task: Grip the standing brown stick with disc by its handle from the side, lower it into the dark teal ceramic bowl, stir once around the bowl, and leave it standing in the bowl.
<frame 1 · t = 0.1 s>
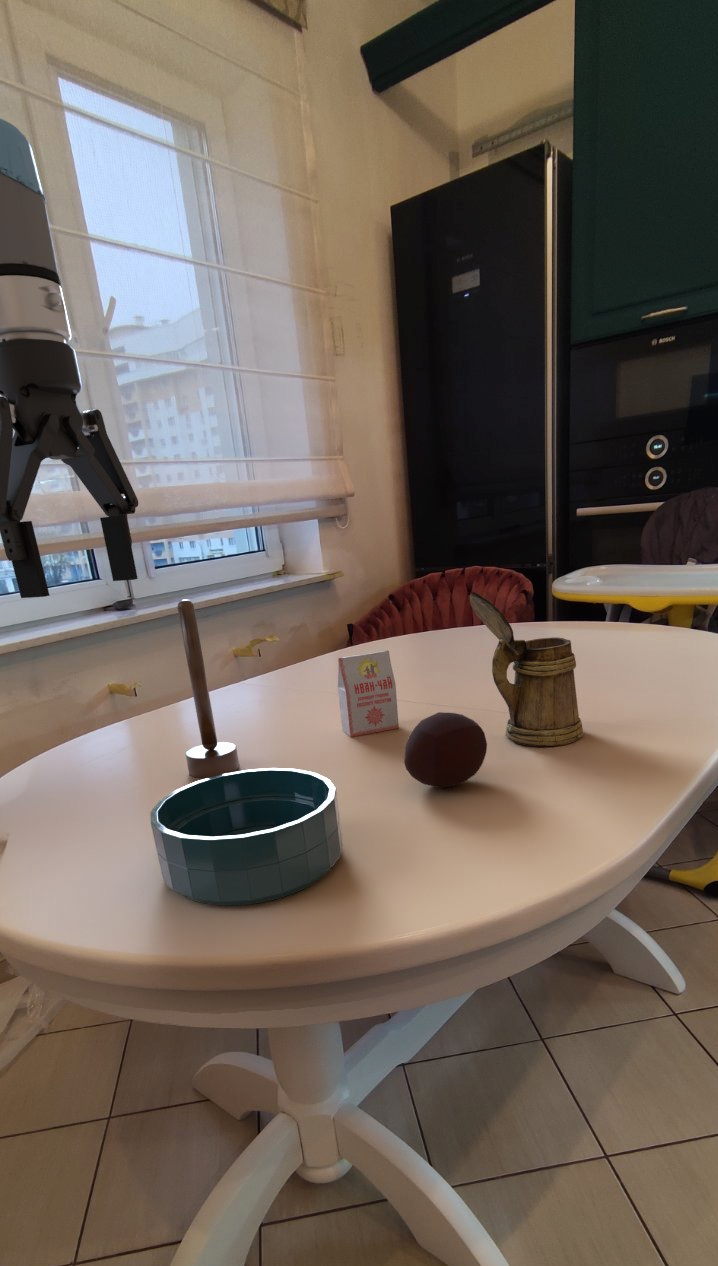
hand: (84, 588, 73), 22 cm above the table, tool pointing down, fingers open, 13 cm apart
wooden mug: (526, 740, 87), on the table
brown stick with disc: (214, 769, 87), on the table
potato: (446, 787, 75), on the table
bowl: (254, 864, 62), on the table
tea bag: (370, 730, 97), on the table
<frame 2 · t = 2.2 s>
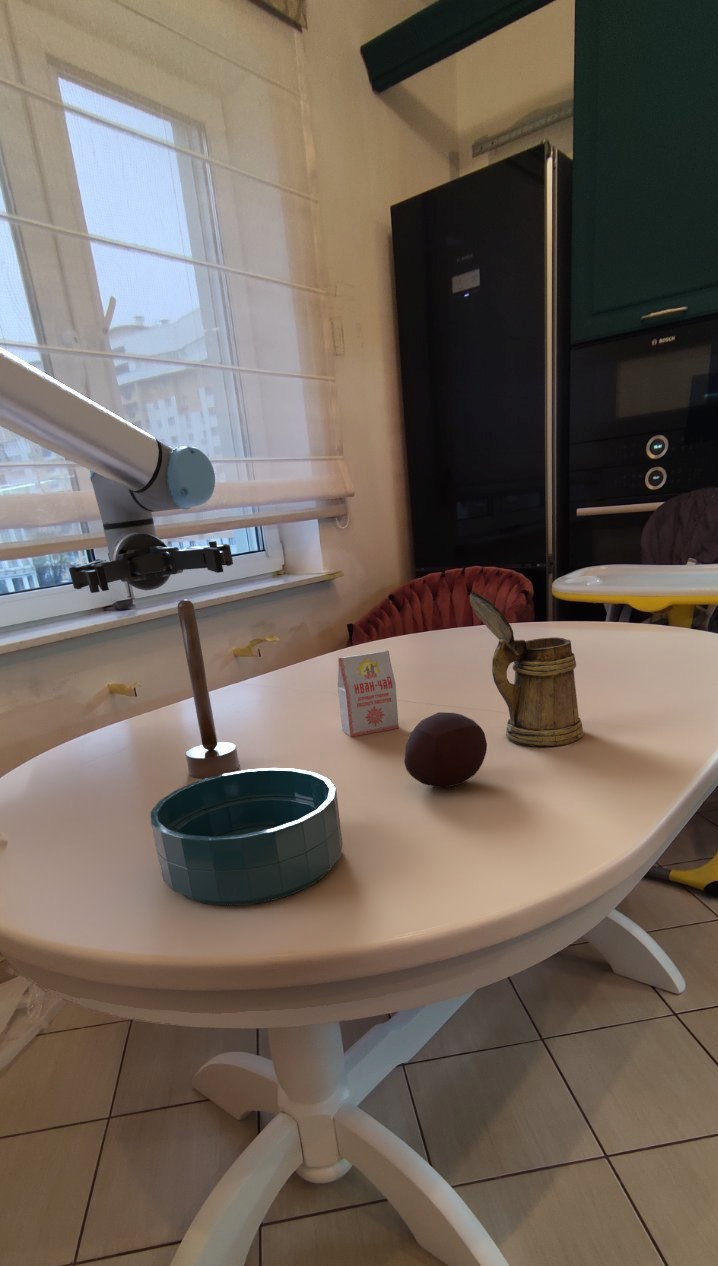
hand: (162, 569, 85), 23 cm above the table, tool horizontal, fingers open, 13 cm apart
nothing on the table moved.
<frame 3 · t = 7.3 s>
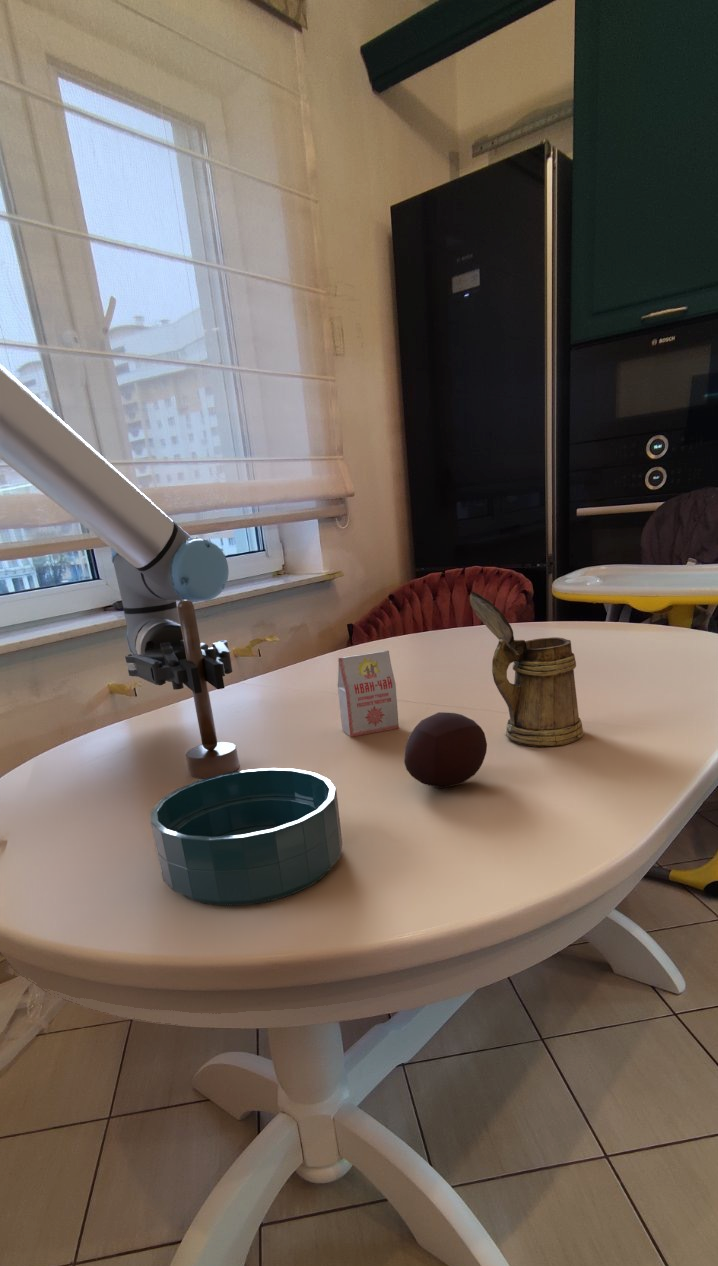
hand: (207, 678, 78), 12 cm above the table, tool horizontal, fingers closed on brown stick with disc, 2 cm apart
brown stick with disc: (214, 769, 87), on the table, touching gripper
everything else where it was.
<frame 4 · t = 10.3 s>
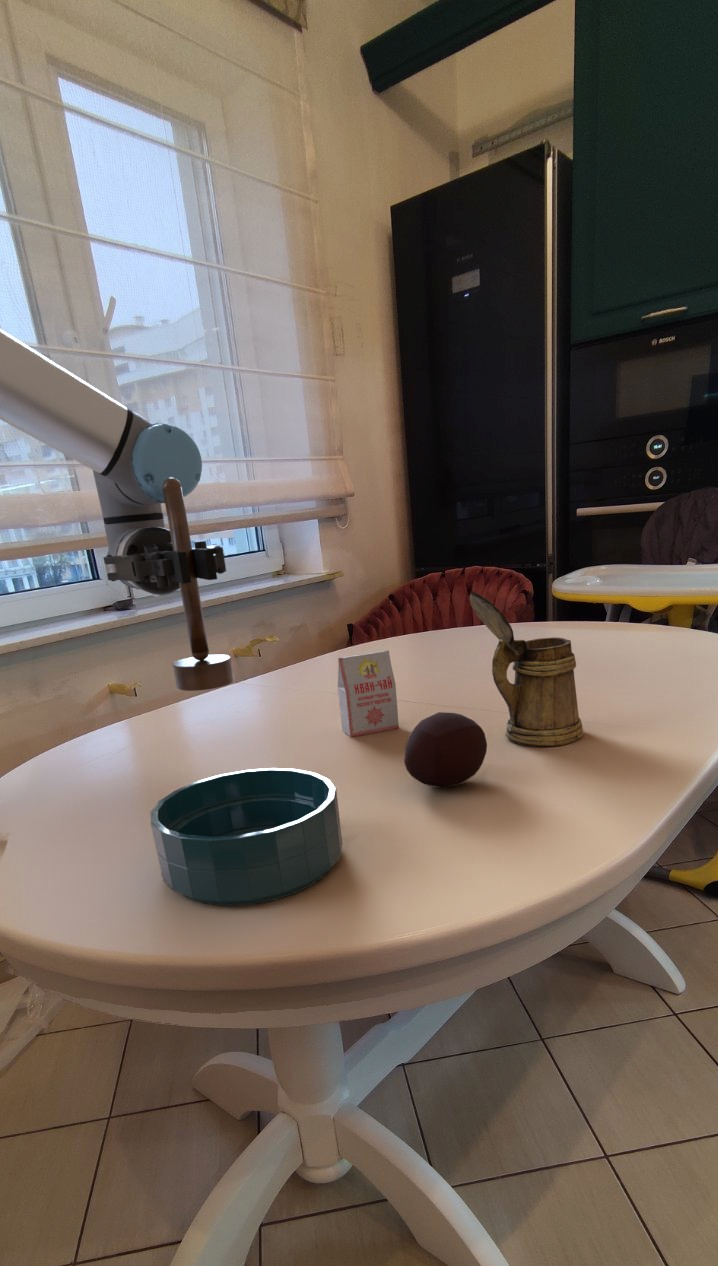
hand: (197, 566, 67), 24 cm above the table, tool horizontal, fingers closed on brown stick with disc, 2 cm apart
brown stick with disc: (205, 684, 76), point 12 cm above the table, touching gripper
everything else where it was.
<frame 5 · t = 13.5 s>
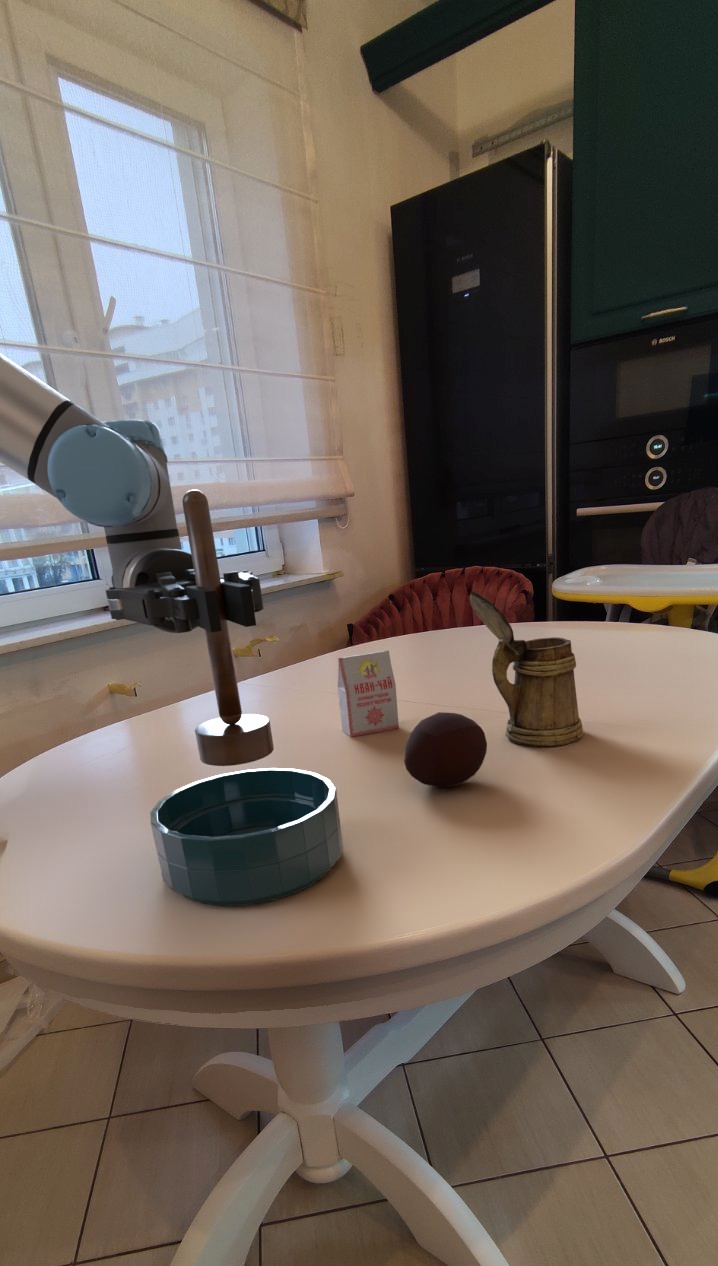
hand: (230, 608, 50), 22 cm above the table, tool horizontal, fingers closed on brown stick with disc, 2 cm apart
brown stick with disc: (237, 753, 59), point 10 cm above the table, touching gripper
everything else where it was.
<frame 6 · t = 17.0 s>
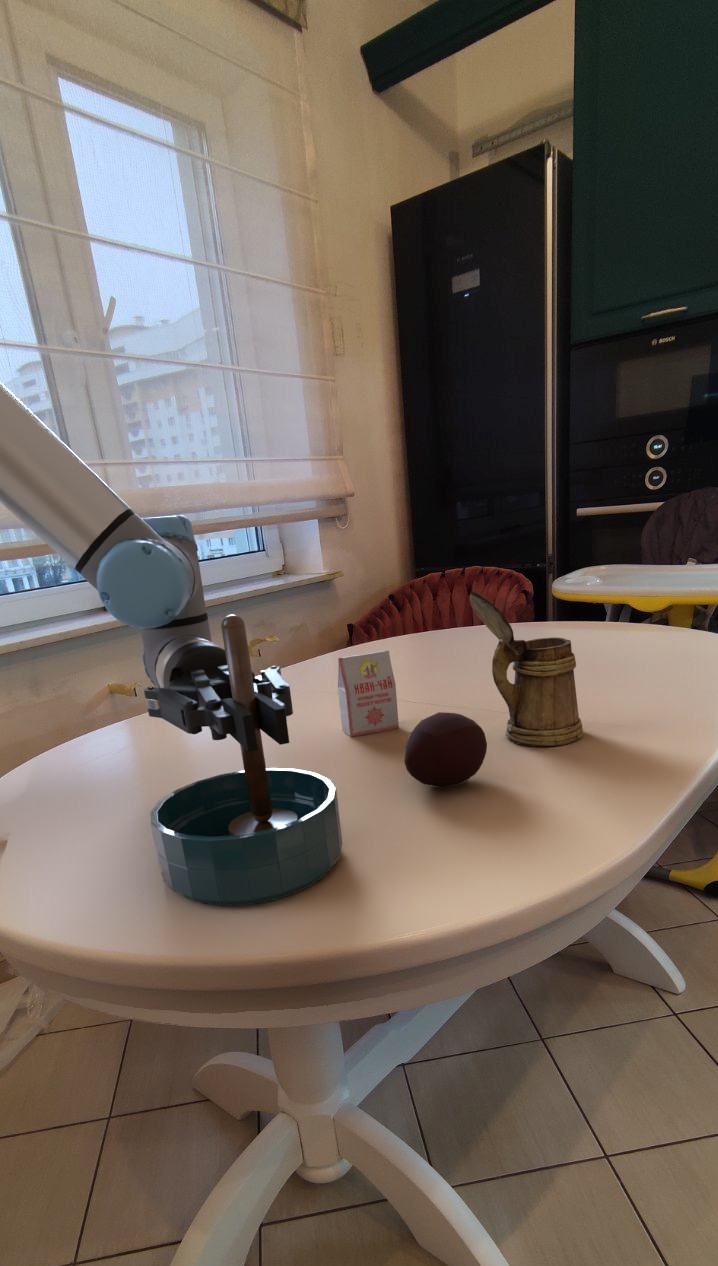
hand: (266, 729, 54), 13 cm above the table, tool horizontal, fingers closed on brown stick with disc, 2 cm apart
brown stick with disc: (267, 847, 63), point 1 cm above the table, touching gripper
everything else where it was.
when the fingers open (13 cm above the table, at t = 19.6 s): brown stick with disc stays where it is, resting on bowl.
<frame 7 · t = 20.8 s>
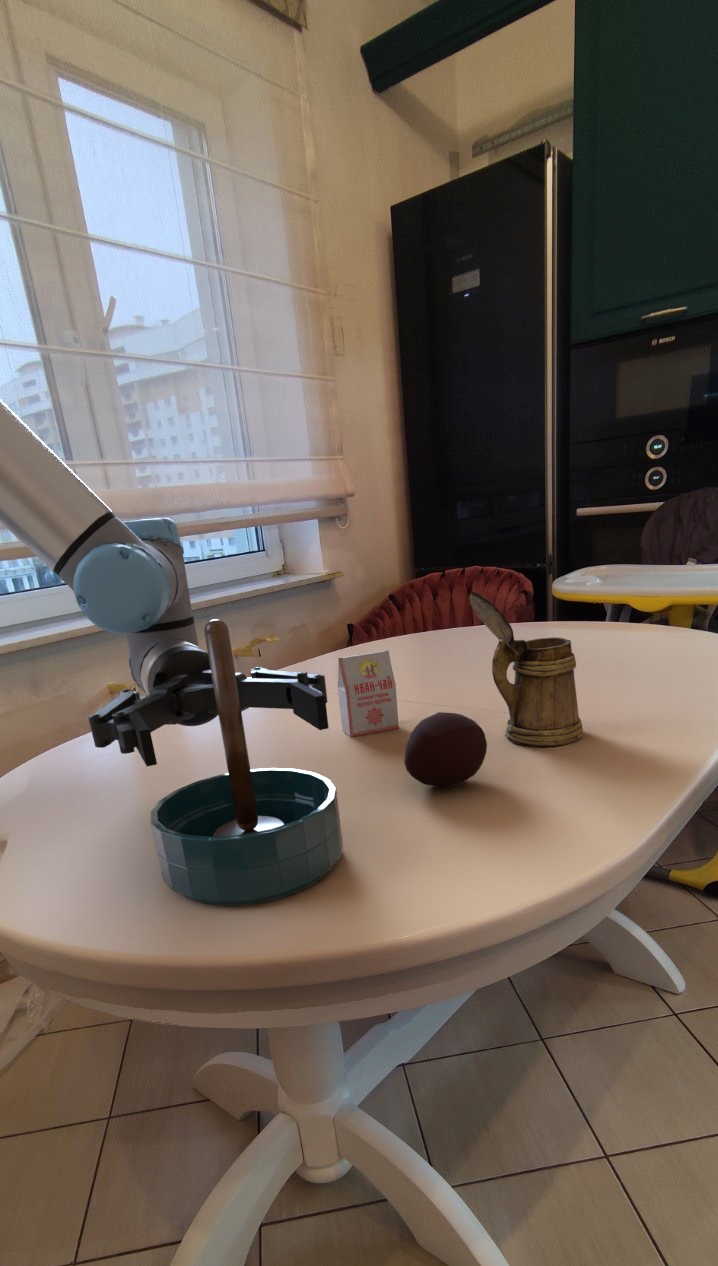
hand: (239, 729, 55), 13 cm above the table, tool horizontal, fingers open, 13 cm apart
brown stick with disc: (253, 856, 62), point 1 cm above the table, touching bowl
everything else where it was.
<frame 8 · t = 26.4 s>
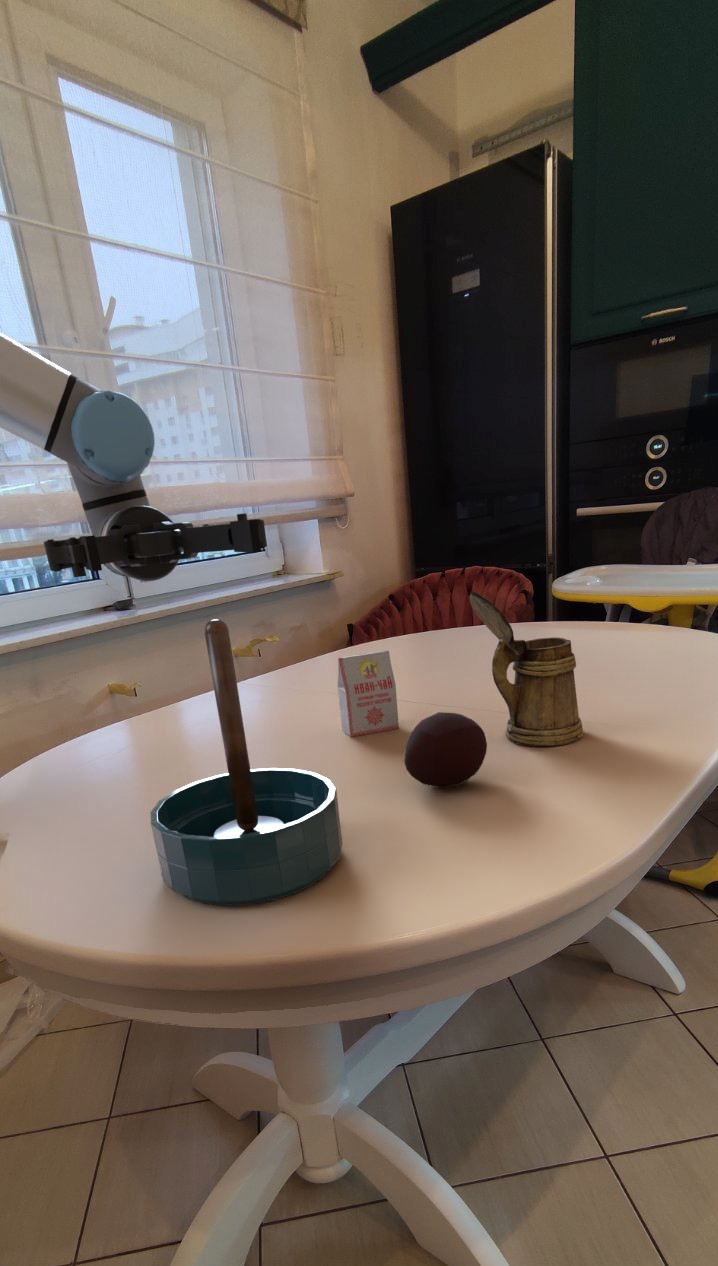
hand: (177, 544, 61), 26 cm above the table, tool horizontal, fingers open, 13 cm apart
nothing on the table moved.
at the end: brown stick with disc inside the target area in the bowl (0.1 cm from its centre), point 0.8 cm above the bowl's base; the gripper is holding nothing; brown stick with disc moved 27.9 cm from its start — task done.
